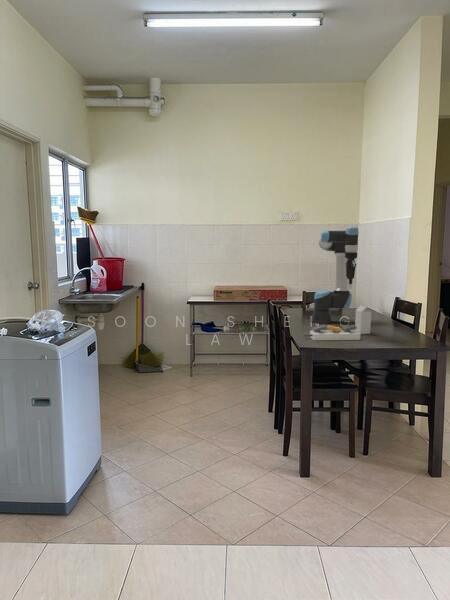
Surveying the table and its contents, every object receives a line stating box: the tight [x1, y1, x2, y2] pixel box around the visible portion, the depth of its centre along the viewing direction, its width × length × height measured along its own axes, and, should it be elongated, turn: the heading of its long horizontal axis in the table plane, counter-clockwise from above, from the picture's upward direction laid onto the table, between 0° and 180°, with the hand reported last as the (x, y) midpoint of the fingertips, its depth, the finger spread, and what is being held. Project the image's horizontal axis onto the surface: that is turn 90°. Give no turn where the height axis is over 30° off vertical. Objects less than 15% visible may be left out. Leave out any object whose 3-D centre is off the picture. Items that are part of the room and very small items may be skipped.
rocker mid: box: [326, 324, 342, 332], centre depth 273 cm, size 5×8×2 cm, turn 94°
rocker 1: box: [311, 324, 328, 332], centre depth 273 cm, size 5×8×2 cm, turn 94°
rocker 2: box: [341, 324, 357, 332], centre depth 274 cm, size 5×8×2 cm, turn 94°
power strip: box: [303, 329, 361, 341], centre depth 272 cm, size 10×34×5 cm, turn 94°
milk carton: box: [354, 303, 372, 335], centre depth 287 cm, size 7×7×19 cm
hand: (349, 288), depth 278 cm, fingers closed
